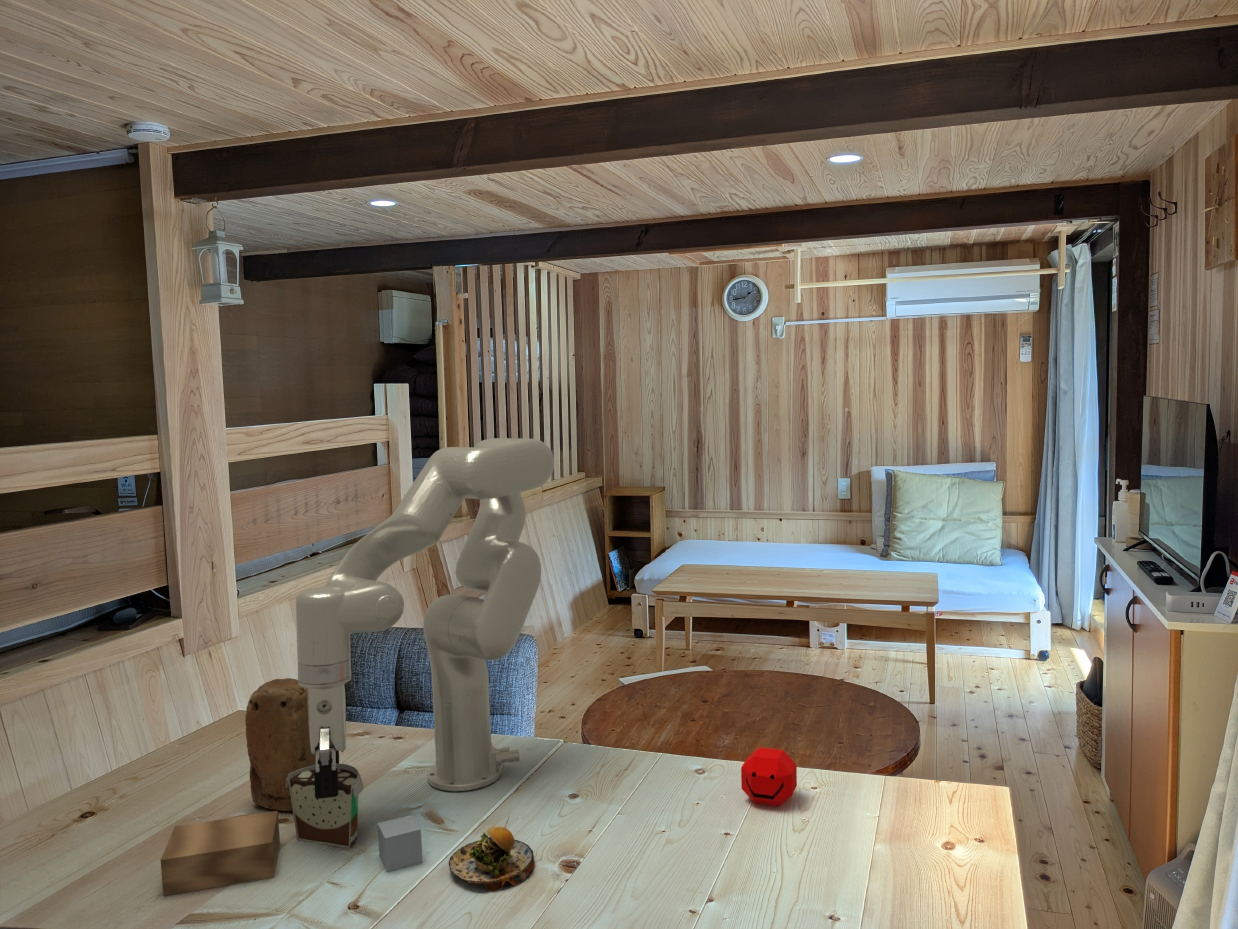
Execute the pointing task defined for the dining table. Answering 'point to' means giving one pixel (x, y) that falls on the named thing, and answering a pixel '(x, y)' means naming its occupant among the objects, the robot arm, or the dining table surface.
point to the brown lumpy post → (277, 740)
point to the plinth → (220, 853)
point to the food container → (326, 807)
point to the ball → (769, 776)
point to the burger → (493, 860)
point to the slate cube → (399, 843)
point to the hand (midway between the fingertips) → (327, 784)
